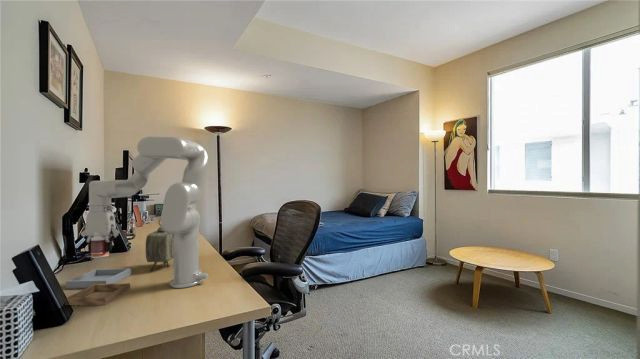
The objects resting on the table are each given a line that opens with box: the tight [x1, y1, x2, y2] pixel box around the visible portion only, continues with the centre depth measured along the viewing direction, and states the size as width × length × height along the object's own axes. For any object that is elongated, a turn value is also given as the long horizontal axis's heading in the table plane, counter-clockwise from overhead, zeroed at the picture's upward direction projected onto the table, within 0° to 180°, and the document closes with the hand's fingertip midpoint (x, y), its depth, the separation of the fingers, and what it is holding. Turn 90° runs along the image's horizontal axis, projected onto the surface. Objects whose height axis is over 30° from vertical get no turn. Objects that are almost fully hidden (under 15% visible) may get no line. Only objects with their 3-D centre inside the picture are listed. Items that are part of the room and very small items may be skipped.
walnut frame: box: [66, 282, 131, 307], centre depth 103 cm, size 14×14×2 cm
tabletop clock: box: [144, 217, 175, 271], centre depth 140 cm, size 14×9×25 cm, turn 178°
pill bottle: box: [90, 232, 110, 259], centre depth 120 cm, size 6×6×11 cm
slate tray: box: [65, 268, 132, 290], centre depth 120 cm, size 16×16×3 cm
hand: (100, 250), depth 120 cm, fingers closed on pill bottle, 6 cm apart
